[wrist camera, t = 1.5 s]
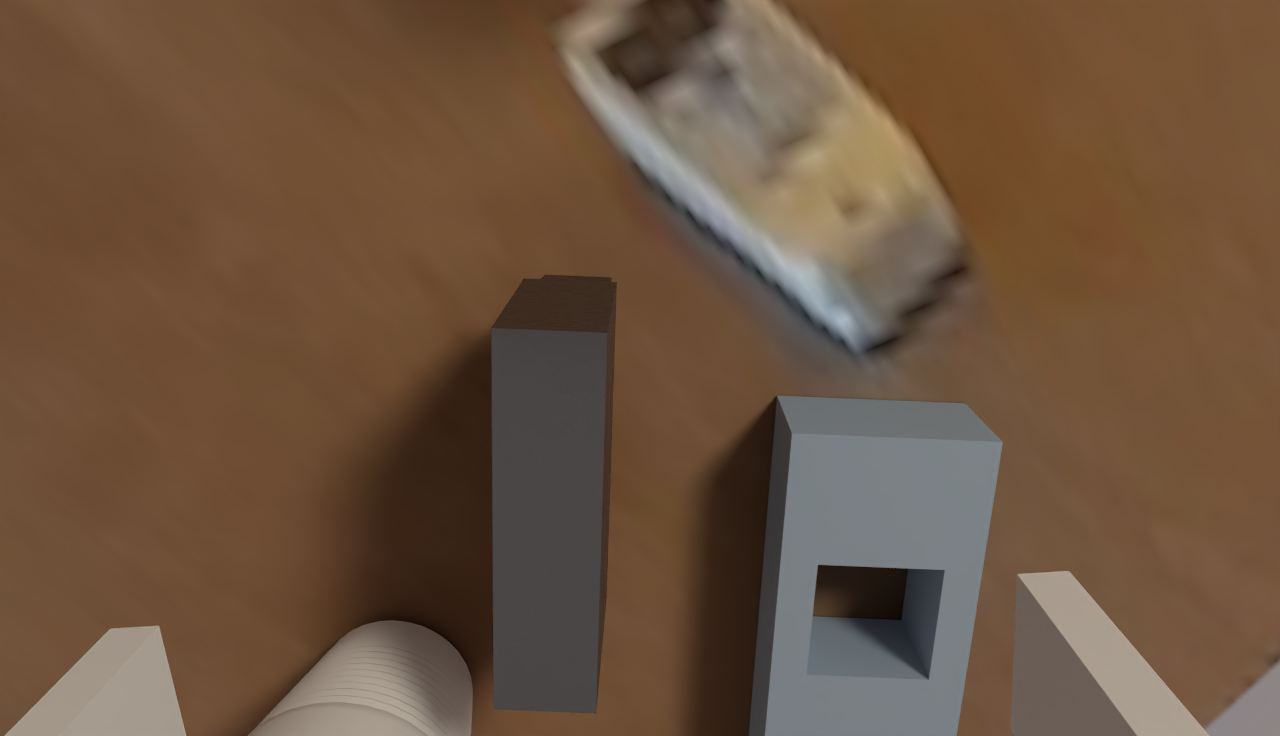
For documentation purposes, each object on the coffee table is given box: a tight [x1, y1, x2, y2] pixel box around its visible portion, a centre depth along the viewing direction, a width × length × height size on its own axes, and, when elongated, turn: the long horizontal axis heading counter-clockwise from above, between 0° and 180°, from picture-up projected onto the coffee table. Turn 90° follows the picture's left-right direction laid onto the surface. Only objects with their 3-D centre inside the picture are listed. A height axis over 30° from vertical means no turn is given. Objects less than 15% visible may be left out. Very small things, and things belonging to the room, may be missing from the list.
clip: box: [491, 275, 617, 713], centre depth 31 cm, size 3×12×10 cm, turn 178°
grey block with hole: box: [749, 396, 1003, 736], centre depth 37 cm, size 7×22×4 cm, turn 178°
